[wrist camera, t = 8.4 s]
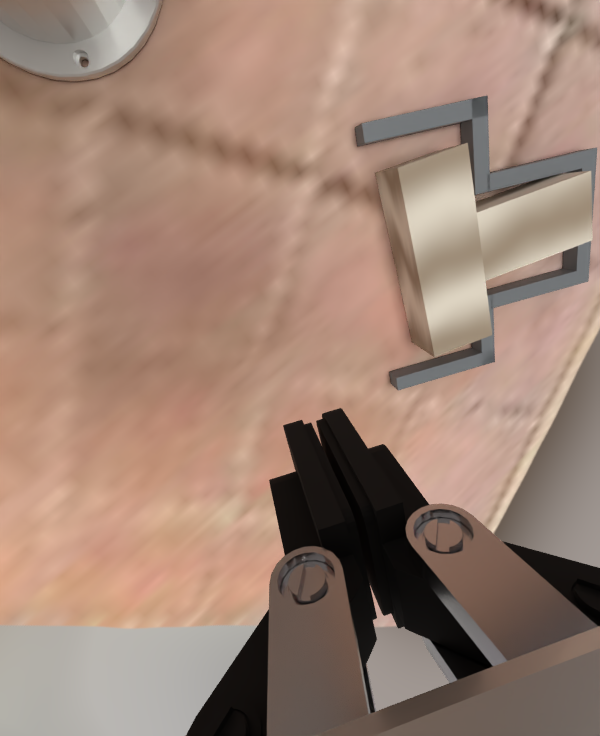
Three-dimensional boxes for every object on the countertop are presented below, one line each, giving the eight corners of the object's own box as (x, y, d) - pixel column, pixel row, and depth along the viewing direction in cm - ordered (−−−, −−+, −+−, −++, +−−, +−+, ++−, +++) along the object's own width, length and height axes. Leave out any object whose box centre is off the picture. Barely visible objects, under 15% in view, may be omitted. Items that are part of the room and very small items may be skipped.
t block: (374, 172, 30) (397, 167, 26) (545, 112, 31) (590, 99, 27) (411, 342, 35) (434, 357, 32) (555, 287, 36) (593, 295, 33)
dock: (354, 127, 28) (361, 123, 27) (584, 76, 30) (602, 69, 29) (391, 383, 36) (397, 390, 35) (571, 330, 38) (584, 335, 37)
